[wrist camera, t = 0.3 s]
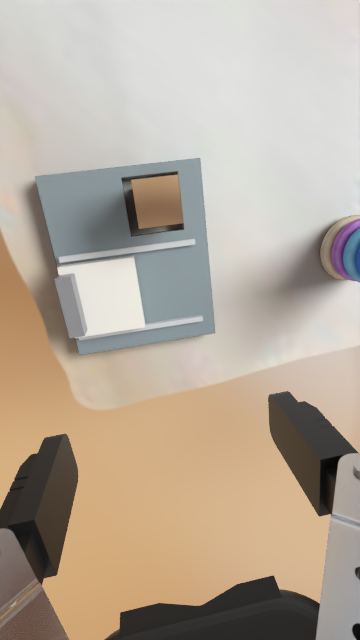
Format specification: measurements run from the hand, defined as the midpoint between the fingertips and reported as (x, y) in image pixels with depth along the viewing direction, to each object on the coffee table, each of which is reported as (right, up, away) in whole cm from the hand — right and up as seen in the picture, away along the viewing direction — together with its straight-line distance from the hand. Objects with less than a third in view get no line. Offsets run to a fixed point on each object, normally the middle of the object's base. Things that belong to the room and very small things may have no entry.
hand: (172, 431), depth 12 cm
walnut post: (-3, +17, +23) cm, 29 cm away
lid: (-8, +7, +23) cm, 26 cm away
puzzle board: (-5, +11, +25) cm, 28 cm away
